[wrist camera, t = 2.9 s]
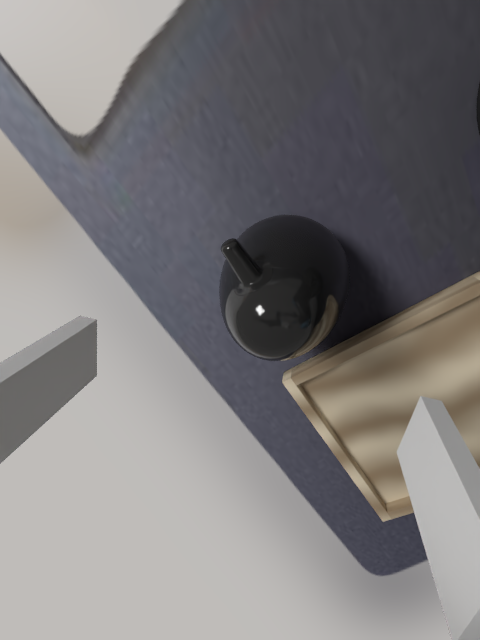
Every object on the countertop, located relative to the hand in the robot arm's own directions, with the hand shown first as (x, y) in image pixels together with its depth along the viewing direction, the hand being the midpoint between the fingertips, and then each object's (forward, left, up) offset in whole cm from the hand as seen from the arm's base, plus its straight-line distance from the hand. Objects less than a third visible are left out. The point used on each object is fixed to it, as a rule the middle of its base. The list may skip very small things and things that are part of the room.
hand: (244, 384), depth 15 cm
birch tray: (+11, +16, -21) cm, 29 cm away
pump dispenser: (0, 0, -21) cm, 21 cm away
